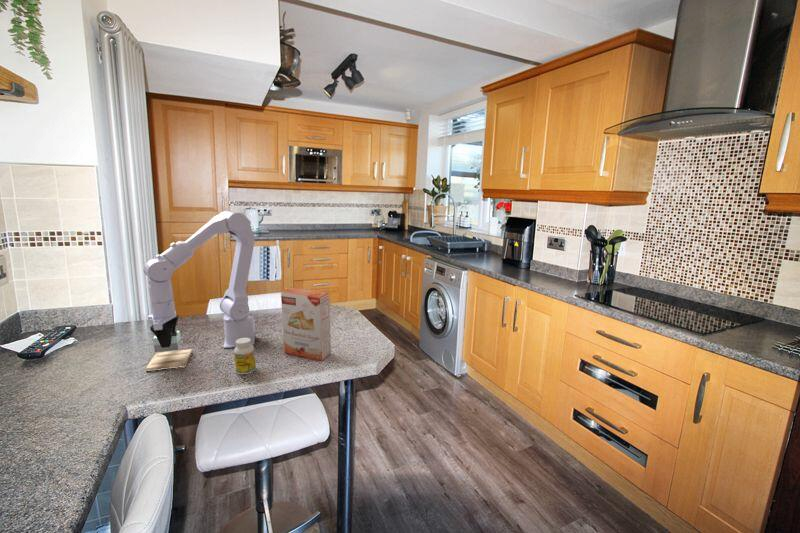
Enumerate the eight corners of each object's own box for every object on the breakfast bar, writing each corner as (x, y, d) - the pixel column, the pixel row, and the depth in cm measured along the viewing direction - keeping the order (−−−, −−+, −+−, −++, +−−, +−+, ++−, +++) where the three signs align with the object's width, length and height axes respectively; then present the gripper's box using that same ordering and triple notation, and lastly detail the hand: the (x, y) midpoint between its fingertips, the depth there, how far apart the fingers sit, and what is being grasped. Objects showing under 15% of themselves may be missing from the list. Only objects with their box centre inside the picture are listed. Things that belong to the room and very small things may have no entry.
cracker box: (283, 354, 121) (279, 291, 116) (294, 346, 126) (291, 286, 121) (321, 362, 116) (319, 297, 111) (331, 353, 122) (329, 291, 117)
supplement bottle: (256, 365, 113) (254, 335, 111) (254, 374, 108) (251, 343, 106) (237, 367, 112) (234, 337, 110) (234, 376, 107) (231, 345, 105)
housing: (181, 343, 116) (179, 330, 115) (178, 349, 112) (176, 335, 111) (158, 346, 114) (157, 332, 113) (154, 352, 111) (152, 338, 110)
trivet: (192, 352, 121) (191, 348, 120) (185, 367, 111) (185, 363, 111) (156, 356, 118) (155, 352, 117) (146, 372, 108) (145, 368, 108)
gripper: (153, 294, 115) (159, 335, 119) (137, 309, 102) (144, 356, 105) (179, 292, 118) (184, 332, 121) (167, 307, 104) (173, 352, 107)
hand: (168, 343), depth 113 cm, fingers closed on housing, 4 cm apart
